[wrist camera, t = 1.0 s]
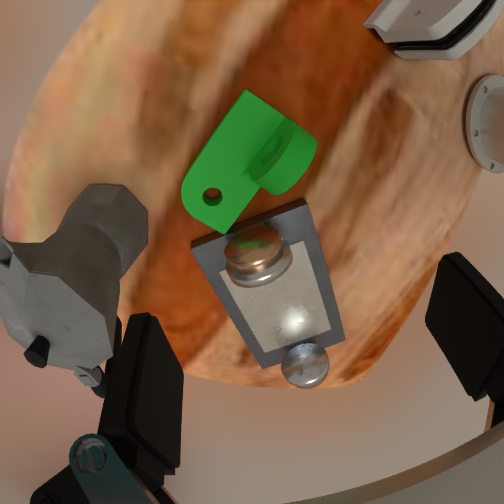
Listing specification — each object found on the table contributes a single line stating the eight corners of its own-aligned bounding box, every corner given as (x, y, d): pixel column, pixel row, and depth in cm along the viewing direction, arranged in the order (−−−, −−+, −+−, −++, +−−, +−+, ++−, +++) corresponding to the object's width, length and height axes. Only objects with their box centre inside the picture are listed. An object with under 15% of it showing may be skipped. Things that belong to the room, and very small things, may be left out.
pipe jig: (191, 241, 31) (185, 287, 25) (303, 198, 30) (327, 234, 24) (261, 360, 42) (268, 404, 36) (342, 332, 41) (359, 374, 34)
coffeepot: (48, 181, 26) (-64, 289, 11) (125, 148, 26) (19, 249, 10) (108, 298, 34) (66, 432, 19) (179, 280, 34) (163, 431, 18)
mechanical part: (244, 89, 24) (254, 91, 17) (298, 127, 26) (326, 145, 20) (171, 195, 29) (157, 235, 22) (224, 225, 31) (226, 271, 24)
